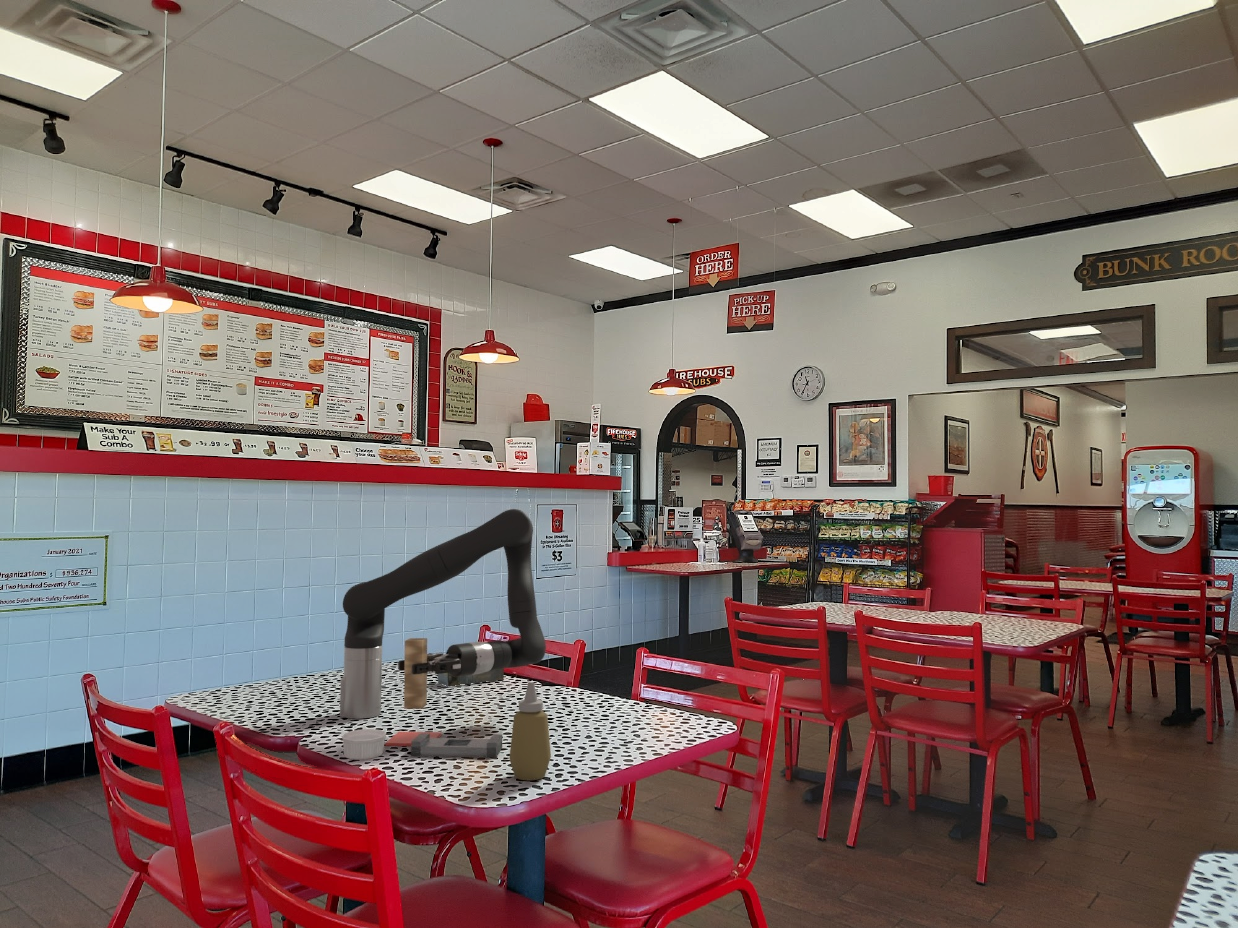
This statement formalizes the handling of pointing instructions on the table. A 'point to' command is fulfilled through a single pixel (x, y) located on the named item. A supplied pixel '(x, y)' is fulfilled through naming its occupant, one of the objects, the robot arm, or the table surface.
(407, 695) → the oak peg
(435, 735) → the red coaster
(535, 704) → the squeeze bottle
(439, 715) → the table surface
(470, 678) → the beverage carton
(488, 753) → the grey piece
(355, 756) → the ramekin
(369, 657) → the robot arm
